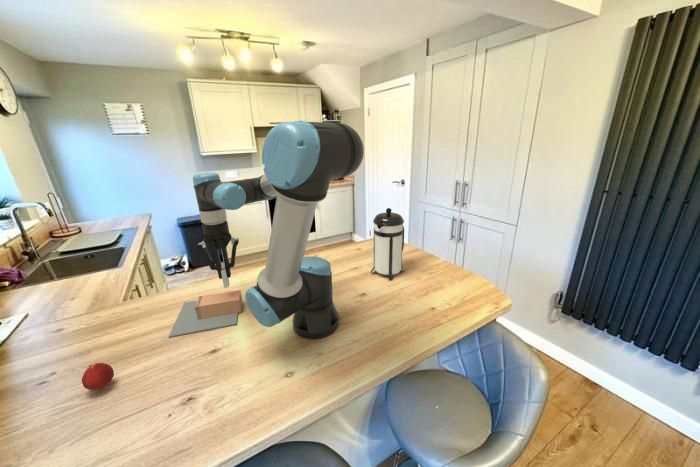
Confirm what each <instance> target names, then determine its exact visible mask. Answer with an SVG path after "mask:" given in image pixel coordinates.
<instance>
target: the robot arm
mask: <svg viewBox="0 0 700 467" xmlns="http://www.w3.org/2000/svg"><path fill="white" fill-rule="evenodd" d="M364 150H365V148H364V143H363V140H362V138H361V136H360V135H359V133H358V132H357V131H356V129H354V128H353V127H352V126H350V125H347V124H346V123H343V122H336V121H335V122H327V121H325V122H322V121H305V120H293V121H285V122H284V121H283V122H280V123H277V124H276V126H274V127H273V128H271V129H270V130H269V131H268V133H267V135H266V136H265V138H264V141H263V145H262V150H261V164H262V165H264V166H263V167H264V168H263V172H264V174H262V175H261V176H257V177H252V178H245V179H238V180H231V181H222V180H221V178H220V177H221V176H220V174H219V173H217V172H201V173H195V174H193V176H192V183H193V190H194V193H195V197H196V202H197V206H198V211H199V212H198V213H199V216H200V222H201V223H202V224H201V226H202V231H203V236H204V237H203V240H202V241H201V242H199V243H198V244H197V246H196V248H197V249H198V250H199V251H201V252H202V254H203V257H204V258H205V261H206V262H207V264H208V266H209V268H210V270H211V271H214V270H215V271H216V272H217V276H218V278H219V280H222V284H223V289H226V288H229V287H230V280H229V278H231V276H232V272H231V269H232V268H234V267H235V264H236V255H237V246H238V245H239V243H240V242H239V241H240V239H239V238H238V237H237V238H235V237H233V236H232V234H231V233H230V230H229V222H228V221H227V213H226V212H227V210H228V211H235V210H240V209H241V208H242V207H243V206H245V205H249V204H254V203H258V202H263V201H268V200H274V199H276V200H275V205H274V212H273V218H272V225H271V232H270V237H269V244H268V249H267V257H266V262H265V267H264V268H262V269H261V271H260V272H259V273H258V275H257V280H256V285H255V286H250V287H249V289H247V290H246V291H245V301H246V304H247V306H248V309H249V311H250V312H251V315H252V316H253V317H254V319H255V320H256V321H257V322H258V323H259V324H260V325H261V326H263V327H266V328H271V327H273V326H275V325H278V324H280V323H281V322H282V321H284V320H286V319H288V318H289V317H291V316H292V315H293V317H292V318H293V319H292V328H293V331H294V332H295V334H296V335H297V336H299V337H301V338H303V339H308V340H318V339H323V338H326V337H328V336H330V335H332V334H333V333H335V332H336V331H337V329H338V328H339V325H340V316H339V313H338V310H337V308H336V306H335V304H334V301H333V300H334V298H333V276H332V275H333V272H332V268H331V267H332V265H331V263H330V262H329V261H328V260H327V259H325V258H323V257H320V256H311V255H310V256H309V255H307V256H304V255H305V252H306V247H307V244H308V241H309V237H310V233H311V228H312V225H313V222H314V221H313V220H314V217H315V212H316V209H317V204H318V203H319V202H323V201H324V200H325V199H326V198H327V195H328V191H329V187H330V184H331V181H333V180H338V179H339V180H340V179H343V178H346V177H349V176H351V175H352V174H353V173H356V171H357V170H358V169H359V168H360V166H361V164H362V162H363V160H364V153H365V151H364ZM230 242H231V245H232V247H231V256H230V257H231V258H229V254H228V250H227V248H228V245H229V244H230ZM207 246H208V247H209V248H210V249H211V250H212V253H213V257H214V260H213V258H212V255H211V254H210V252H209V249H208V247H207ZM219 249H220V250H221V251H219ZM220 252H221V253H222V254H221V256H222V258H223V259H222V260H223V264H224V265H222V262H221V257H220ZM229 259H230V260H229ZM223 266H224V267H223Z"/></svg>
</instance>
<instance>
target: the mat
mask: <svg viewBox="0 0 700 467" xmlns="http://www.w3.org/2000/svg"><path fill="white" fill-rule="evenodd" d="M196 303H197V300H193V301H185V302H184V303H183V304H182V307H181V309H180V311H179V313H178V315H177V318H176V319H175V322H174V324H173V326H172V327H171V330H170V332H169V334H168V339H170V338H177V337H182V336H186V335H191V334H197V333H201V332H203V333H204V332H207V331H213V330H218V329H223V328H229V327H233V326H237V323H238V317H239V312H238V313H233V314H227V315H222V316H216V317H210V318H205V319H199V320H198V319H197V314H196V310H195V305H196Z"/></svg>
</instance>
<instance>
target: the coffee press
mask: <svg viewBox="0 0 700 467" xmlns="http://www.w3.org/2000/svg"><path fill="white" fill-rule="evenodd" d="M392 211H393V210H392V209H391V208H390V207H387V208H386V210H385V212H380V213H378V214H376V215H375V217H374V219H373V267H372V269H371V270H370V273H371V275H373V274H372V273H373V272H374V274H376V273H378V274H381V275H384V276H387V277H388V280H389V281H393V275H396V274H399V273H401V271H403V273H404V272H405V270H404V268H403V267H402V266H403V251H404V246H405V227H404V223H405V220H404V218H403V216H402V215H401V214H399V213H397V212H392Z"/></svg>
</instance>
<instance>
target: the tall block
mask: <svg viewBox="0 0 700 467" xmlns="http://www.w3.org/2000/svg"><path fill="white" fill-rule="evenodd" d="M196 301H197V303H196V305H195V310H196V314H197V319H198V320H199V319H205V318H210V317H216V316H222V315H227V314H233V313H238V314H239V313H242V307H243V298H242V290H241V289H239V290H238V289H236V290H232V291H231V290H230V291H226V292H219V293H213V294H208V295H200V296H198V298H197V300H196Z"/></svg>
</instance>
